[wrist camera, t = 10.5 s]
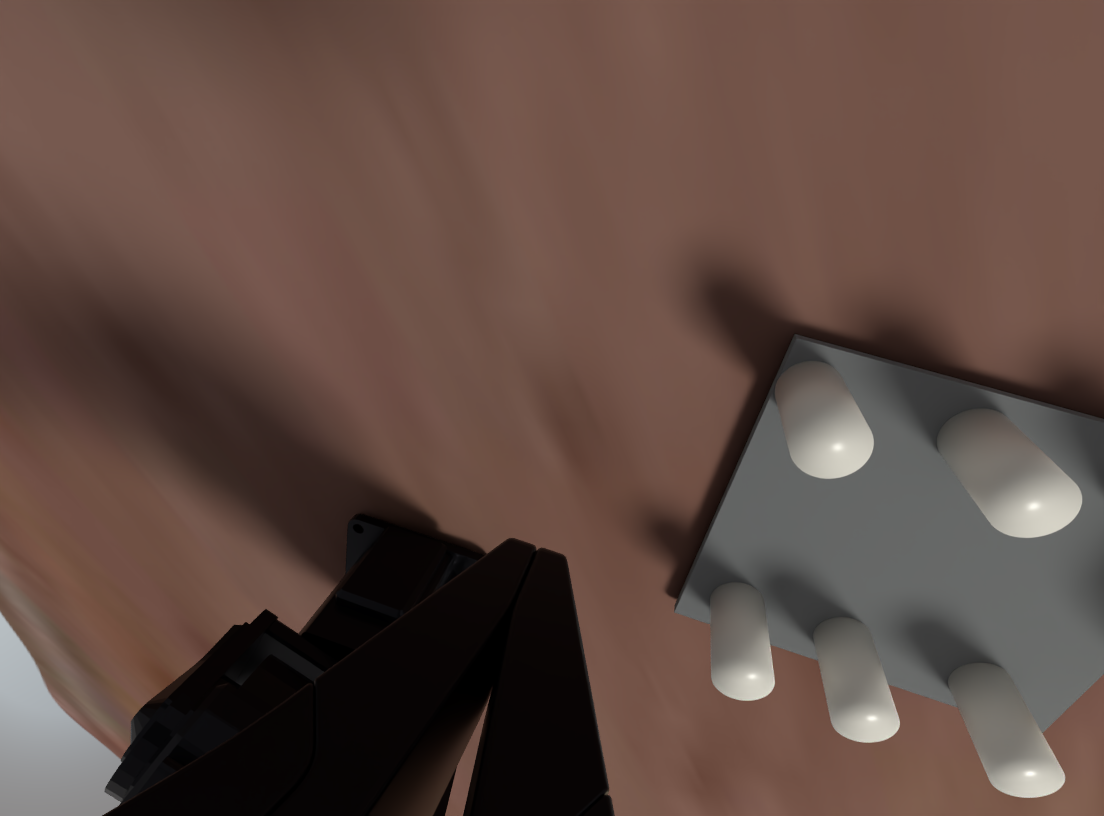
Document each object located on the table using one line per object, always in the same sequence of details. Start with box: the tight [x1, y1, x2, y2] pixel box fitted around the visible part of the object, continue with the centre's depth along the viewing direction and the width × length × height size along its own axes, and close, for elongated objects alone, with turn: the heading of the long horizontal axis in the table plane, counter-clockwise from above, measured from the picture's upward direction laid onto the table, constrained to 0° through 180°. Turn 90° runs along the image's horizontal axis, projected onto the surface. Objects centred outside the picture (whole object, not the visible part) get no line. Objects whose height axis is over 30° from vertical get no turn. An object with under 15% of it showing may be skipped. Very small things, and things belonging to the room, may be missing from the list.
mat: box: [674, 334, 1104, 733], centre depth 20 cm, size 12×14×1 cm
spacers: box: [710, 361, 1082, 798], centre depth 18 cm, size 11×12×4 cm
